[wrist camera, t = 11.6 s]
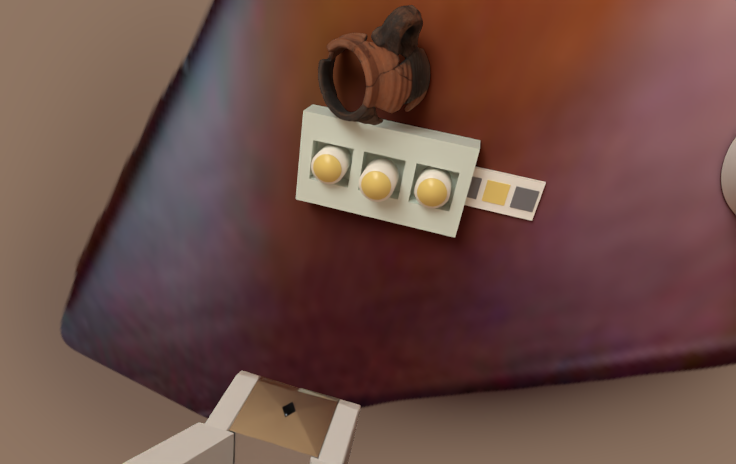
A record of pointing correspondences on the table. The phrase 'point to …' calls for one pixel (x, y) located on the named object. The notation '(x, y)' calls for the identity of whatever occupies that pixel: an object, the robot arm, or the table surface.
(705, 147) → the table surface
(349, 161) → the button
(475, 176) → the card
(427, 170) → the button
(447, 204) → the button board
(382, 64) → the pottery mug
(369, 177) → the button
